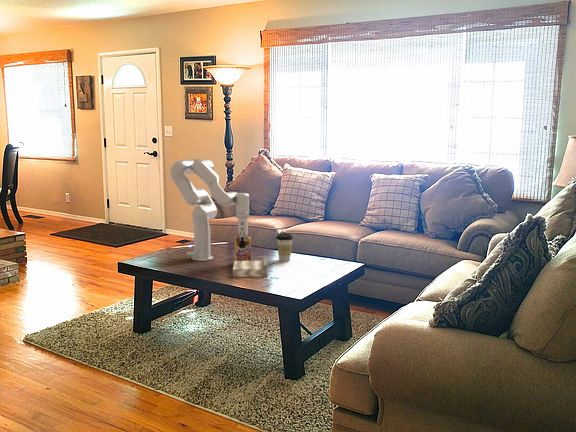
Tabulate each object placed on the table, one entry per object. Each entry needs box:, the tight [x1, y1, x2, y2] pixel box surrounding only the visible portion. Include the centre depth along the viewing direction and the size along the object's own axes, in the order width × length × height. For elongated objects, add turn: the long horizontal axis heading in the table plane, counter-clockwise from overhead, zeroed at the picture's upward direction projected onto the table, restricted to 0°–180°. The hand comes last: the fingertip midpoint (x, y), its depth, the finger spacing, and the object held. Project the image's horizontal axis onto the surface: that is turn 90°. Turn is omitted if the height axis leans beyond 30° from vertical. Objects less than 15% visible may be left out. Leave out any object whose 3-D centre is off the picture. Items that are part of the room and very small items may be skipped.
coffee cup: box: [275, 233, 294, 263], centre depth 333 cm, size 10×10×15 cm
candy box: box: [234, 236, 252, 262], centre depth 325 cm, size 9×4×15 cm, turn 103°
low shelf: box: [232, 255, 268, 278], centre depth 307 cm, size 18×18×6 cm
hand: (242, 246), depth 324 cm, fingers open, 5 cm apart
